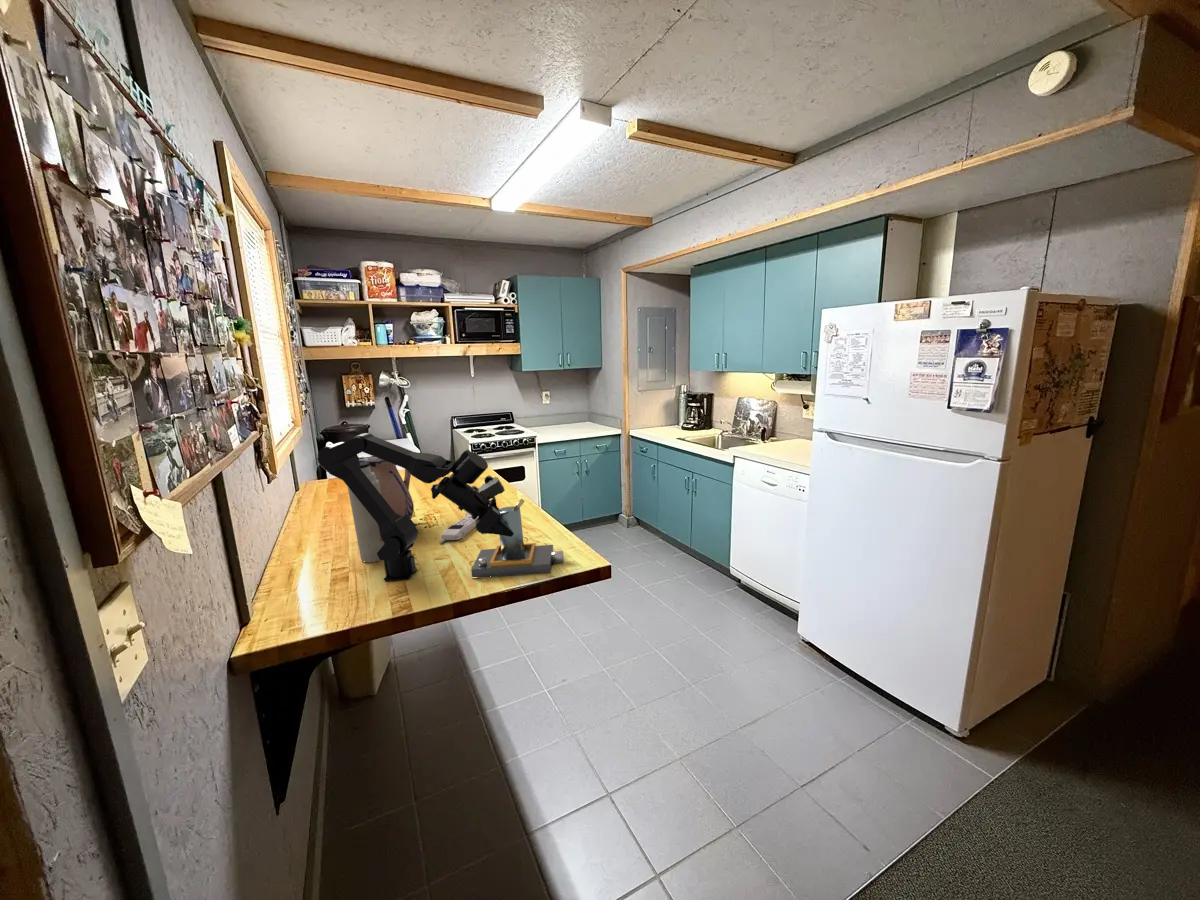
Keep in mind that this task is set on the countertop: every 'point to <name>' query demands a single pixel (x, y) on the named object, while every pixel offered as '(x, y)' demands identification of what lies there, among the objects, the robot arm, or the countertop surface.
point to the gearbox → (516, 562)
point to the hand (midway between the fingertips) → (510, 528)
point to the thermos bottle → (366, 522)
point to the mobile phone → (459, 528)
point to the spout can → (515, 544)
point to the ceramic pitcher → (392, 485)
